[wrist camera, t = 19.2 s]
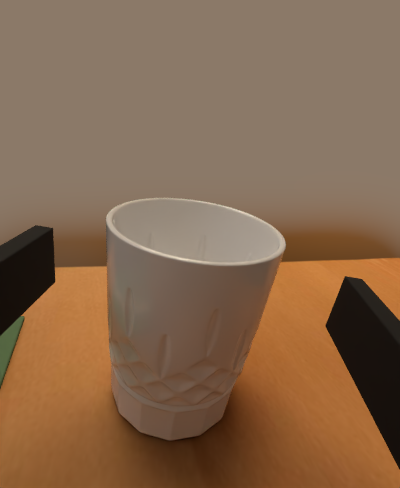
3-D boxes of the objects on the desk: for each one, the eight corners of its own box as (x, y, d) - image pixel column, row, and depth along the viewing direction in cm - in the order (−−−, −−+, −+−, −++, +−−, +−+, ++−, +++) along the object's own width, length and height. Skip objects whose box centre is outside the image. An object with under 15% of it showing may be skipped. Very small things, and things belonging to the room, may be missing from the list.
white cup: (183, 323, 22) (204, 194, 18) (267, 400, 17) (320, 243, 13) (77, 368, 17) (76, 202, 13) (151, 495, 12) (183, 286, 8)
